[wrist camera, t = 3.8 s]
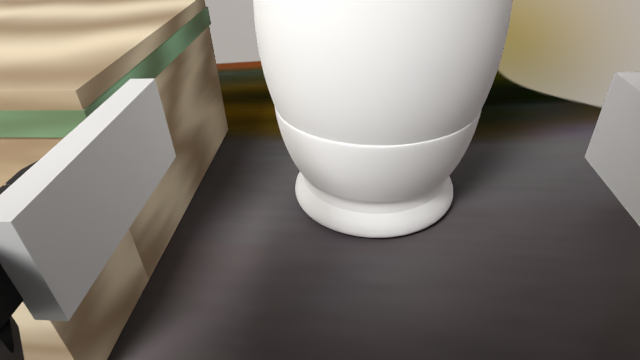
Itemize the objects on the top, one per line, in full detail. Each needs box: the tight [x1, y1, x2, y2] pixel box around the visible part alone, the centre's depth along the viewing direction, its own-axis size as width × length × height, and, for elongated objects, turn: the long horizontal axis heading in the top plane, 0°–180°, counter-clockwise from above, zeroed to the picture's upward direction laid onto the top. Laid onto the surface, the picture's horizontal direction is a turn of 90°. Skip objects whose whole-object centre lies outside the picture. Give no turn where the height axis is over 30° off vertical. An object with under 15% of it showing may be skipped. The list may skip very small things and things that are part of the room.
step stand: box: [0, 0, 228, 360], centre depth 21 cm, size 19×14×9 cm
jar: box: [253, 0, 512, 238], centre depth 20 cm, size 11×10×15 cm
